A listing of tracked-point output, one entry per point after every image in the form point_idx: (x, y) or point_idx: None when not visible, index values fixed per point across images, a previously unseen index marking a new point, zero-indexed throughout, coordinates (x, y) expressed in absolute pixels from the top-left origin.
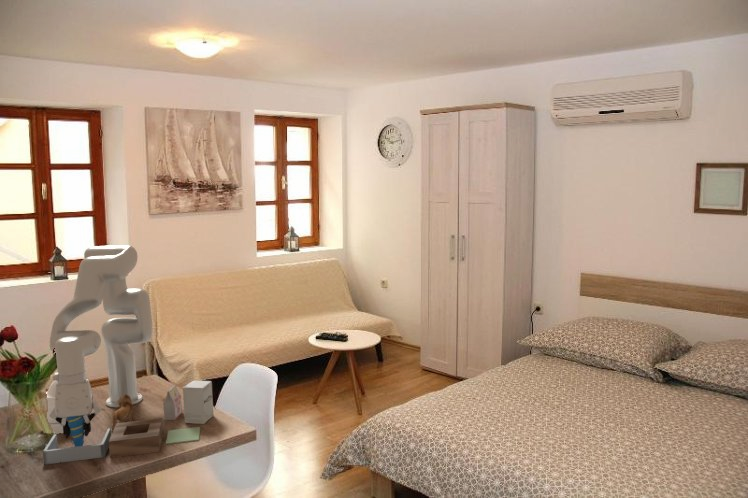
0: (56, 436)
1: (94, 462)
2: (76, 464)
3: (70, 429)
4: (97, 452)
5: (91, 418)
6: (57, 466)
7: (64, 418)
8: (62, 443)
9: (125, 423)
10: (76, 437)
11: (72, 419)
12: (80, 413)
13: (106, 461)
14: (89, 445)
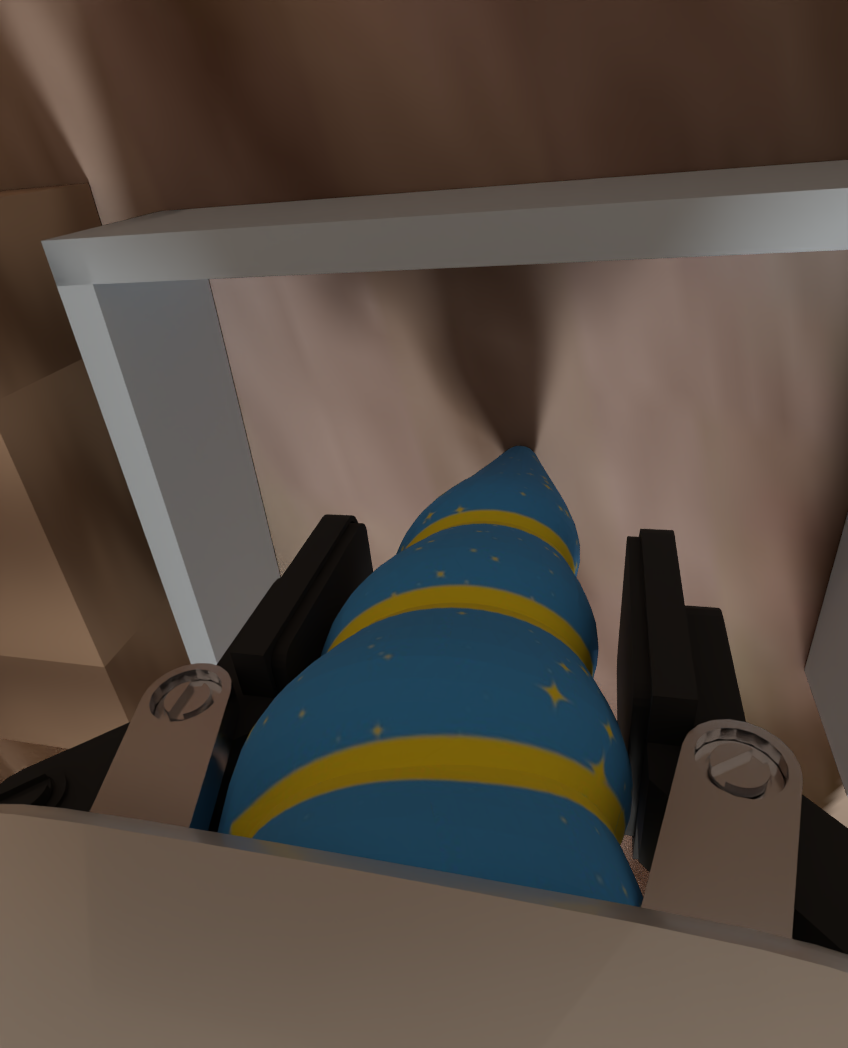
0: (844, 764)
1: (220, 55)
2: (460, 33)
3: (581, 651)
4: (190, 214)
5: (104, 750)
6: (759, 12)
7: (709, 911)
8: (756, 719)
9: (48, 723)
10: (488, 509)
11: (447, 787)
12: (70, 888)
13: (75, 55)
14: (240, 256)
